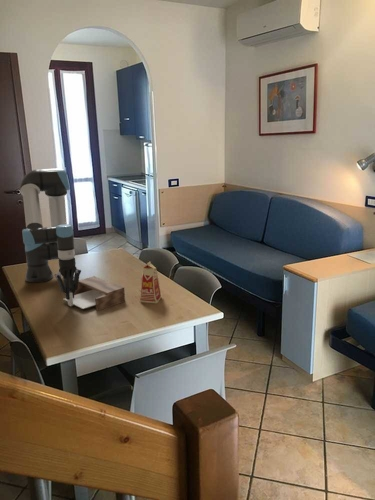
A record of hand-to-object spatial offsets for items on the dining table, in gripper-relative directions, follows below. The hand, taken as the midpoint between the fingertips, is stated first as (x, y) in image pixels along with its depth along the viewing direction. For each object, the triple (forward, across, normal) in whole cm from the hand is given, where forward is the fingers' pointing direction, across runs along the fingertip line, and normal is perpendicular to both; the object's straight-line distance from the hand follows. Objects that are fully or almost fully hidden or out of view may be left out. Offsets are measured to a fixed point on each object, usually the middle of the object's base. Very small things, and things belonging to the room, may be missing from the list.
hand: (70, 305), depth 197 cm
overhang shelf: (+1, +14, 0) cm, 15 cm away
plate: (+1, +10, -1) cm, 10 cm away
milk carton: (+1, +33, -21) cm, 39 cm away
